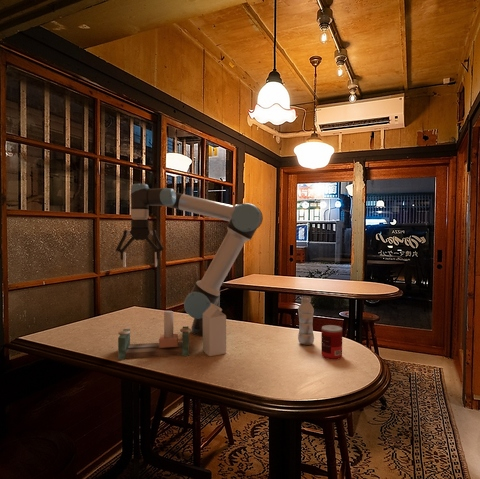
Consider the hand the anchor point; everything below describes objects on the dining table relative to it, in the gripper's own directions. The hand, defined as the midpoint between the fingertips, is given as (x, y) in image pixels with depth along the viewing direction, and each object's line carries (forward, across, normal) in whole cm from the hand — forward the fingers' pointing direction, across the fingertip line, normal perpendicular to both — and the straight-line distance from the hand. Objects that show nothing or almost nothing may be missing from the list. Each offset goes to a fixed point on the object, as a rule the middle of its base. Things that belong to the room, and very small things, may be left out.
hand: (140, 267), depth 157 cm
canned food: (+32, -75, +35) cm, 89 cm away
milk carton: (+32, -31, +24) cm, 51 cm away
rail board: (+32, -8, +20) cm, 38 cm away
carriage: (+29, -13, +20) cm, 38 cm away
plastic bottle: (+32, -70, +20) cm, 79 cm away
